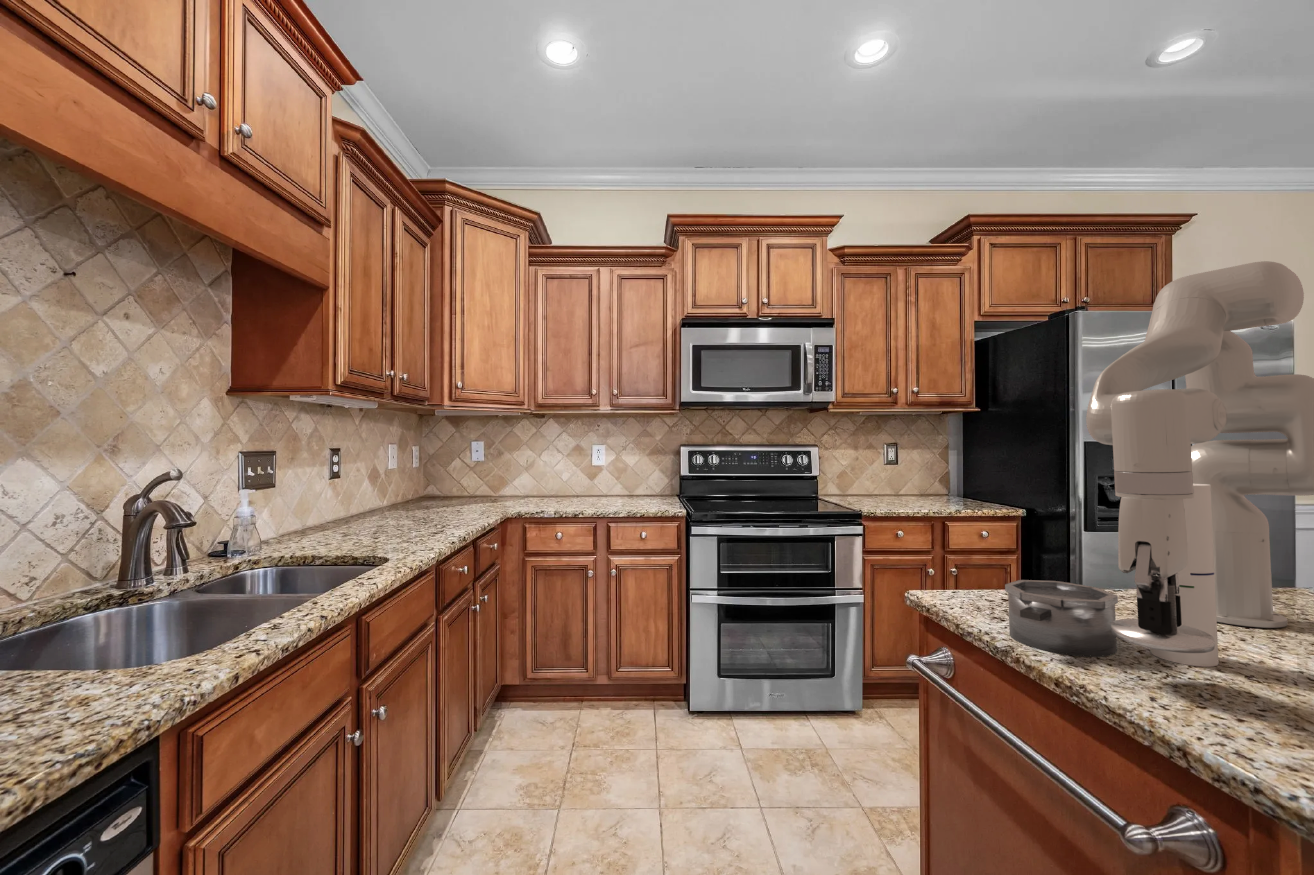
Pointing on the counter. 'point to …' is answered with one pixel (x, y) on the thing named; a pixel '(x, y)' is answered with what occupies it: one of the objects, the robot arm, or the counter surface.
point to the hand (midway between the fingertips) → (1160, 626)
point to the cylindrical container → (1197, 579)
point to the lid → (1177, 641)
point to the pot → (1062, 617)
